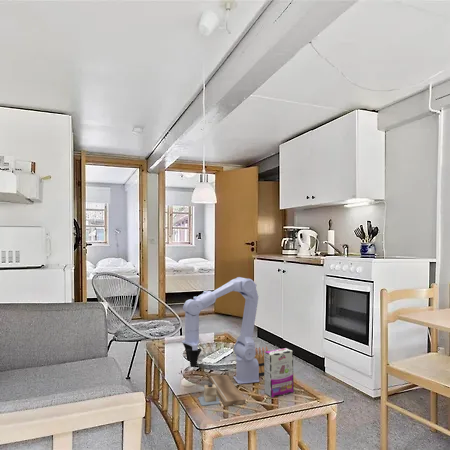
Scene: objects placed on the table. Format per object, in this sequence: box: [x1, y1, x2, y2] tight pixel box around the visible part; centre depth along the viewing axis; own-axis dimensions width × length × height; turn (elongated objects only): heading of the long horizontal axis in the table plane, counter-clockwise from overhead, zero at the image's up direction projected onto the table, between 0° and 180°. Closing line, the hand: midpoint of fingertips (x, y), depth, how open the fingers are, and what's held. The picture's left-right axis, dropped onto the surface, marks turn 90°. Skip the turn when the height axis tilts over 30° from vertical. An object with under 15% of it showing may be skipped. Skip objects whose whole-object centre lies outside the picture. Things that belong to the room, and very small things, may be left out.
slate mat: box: [197, 396, 221, 407], centre depth 135 cm, size 7×7×1 cm
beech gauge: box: [203, 382, 217, 402], centre depth 135 cm, size 4×3×6 cm
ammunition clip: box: [254, 345, 269, 377], centre depth 164 cm, size 11×2×12 cm, turn 113°
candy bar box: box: [263, 347, 295, 398], centre depth 143 cm, size 11×5×16 cm, turn 117°
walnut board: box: [208, 374, 247, 407], centre depth 144 cm, size 8×26×2 cm, turn 16°
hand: (191, 363), depth 146 cm, fingers open, 7 cm apart
